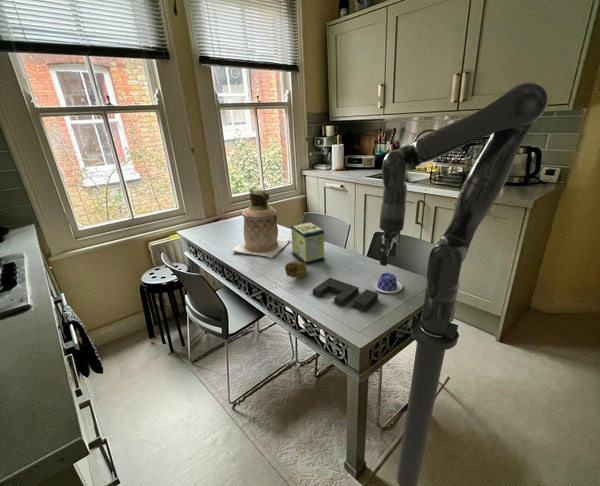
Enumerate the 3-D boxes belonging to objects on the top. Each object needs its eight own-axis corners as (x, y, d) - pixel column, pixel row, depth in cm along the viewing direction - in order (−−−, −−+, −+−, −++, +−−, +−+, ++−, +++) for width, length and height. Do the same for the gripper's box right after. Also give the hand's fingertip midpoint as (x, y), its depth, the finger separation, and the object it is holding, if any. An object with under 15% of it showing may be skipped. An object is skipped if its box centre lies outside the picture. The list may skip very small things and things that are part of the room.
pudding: (391, 298, 123) (392, 286, 121) (366, 287, 131) (366, 275, 129) (407, 286, 130) (409, 275, 128) (382, 277, 138) (383, 266, 136)
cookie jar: (274, 258, 159) (269, 196, 145) (231, 253, 166) (222, 193, 152) (290, 240, 180) (288, 184, 166) (251, 237, 187) (246, 182, 174)
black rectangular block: (377, 299, 122) (378, 293, 121) (364, 311, 115) (365, 304, 114) (366, 295, 125) (366, 289, 124) (353, 307, 118) (353, 300, 117)
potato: (314, 274, 142) (313, 258, 139) (292, 284, 135) (291, 267, 131) (301, 268, 148) (301, 253, 145) (280, 277, 140) (279, 261, 137)
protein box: (309, 249, 168) (309, 221, 162) (324, 260, 155) (324, 230, 149) (292, 253, 164) (290, 224, 158) (305, 264, 151) (304, 234, 145)
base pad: (358, 292, 127) (358, 287, 126) (342, 306, 119) (342, 300, 118) (329, 282, 135) (329, 277, 134) (312, 294, 127) (312, 289, 126)
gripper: (396, 223, 94) (391, 271, 101) (410, 210, 104) (405, 255, 111) (372, 219, 97) (369, 266, 104) (388, 207, 108) (384, 250, 115)
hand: (387, 260), depth 108 cm, fingers open, 8 cm apart
